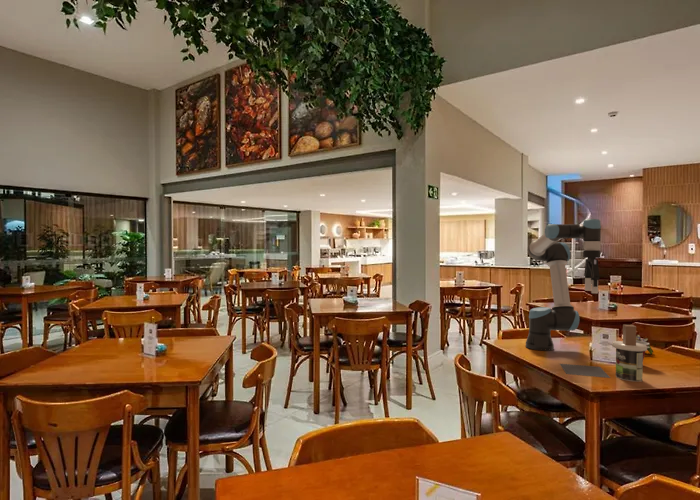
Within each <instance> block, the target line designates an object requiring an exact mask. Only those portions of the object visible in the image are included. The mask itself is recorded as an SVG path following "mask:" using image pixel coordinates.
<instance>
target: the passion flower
mask: <svg viewBox="0 0 700 500" xmlns="http://www.w3.org/2000/svg"><path fill="white" fill-rule="evenodd" d="M648 339H649V338H641V336H640V335H639V334H636V340H638V341H643V342H646V343H648V344H649V345H648V346H647V352H648V353H649V355H653V353H654V350H653V349H652V347H651V345H650V342H647V341H648Z"/></svg>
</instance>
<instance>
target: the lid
mask: <svg viewBox="0 0 700 500" xmlns="http://www.w3.org/2000/svg"><path fill="white" fill-rule="evenodd" d="M636 336H637V326H636V325H634V324H622V340H614V341H612V343H611V346H612V347H613V348H615V349H616V348H617V349H622V350H628V351H645V352H648V350H647V346H646V345H644V344H640V343H636Z"/></svg>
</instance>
